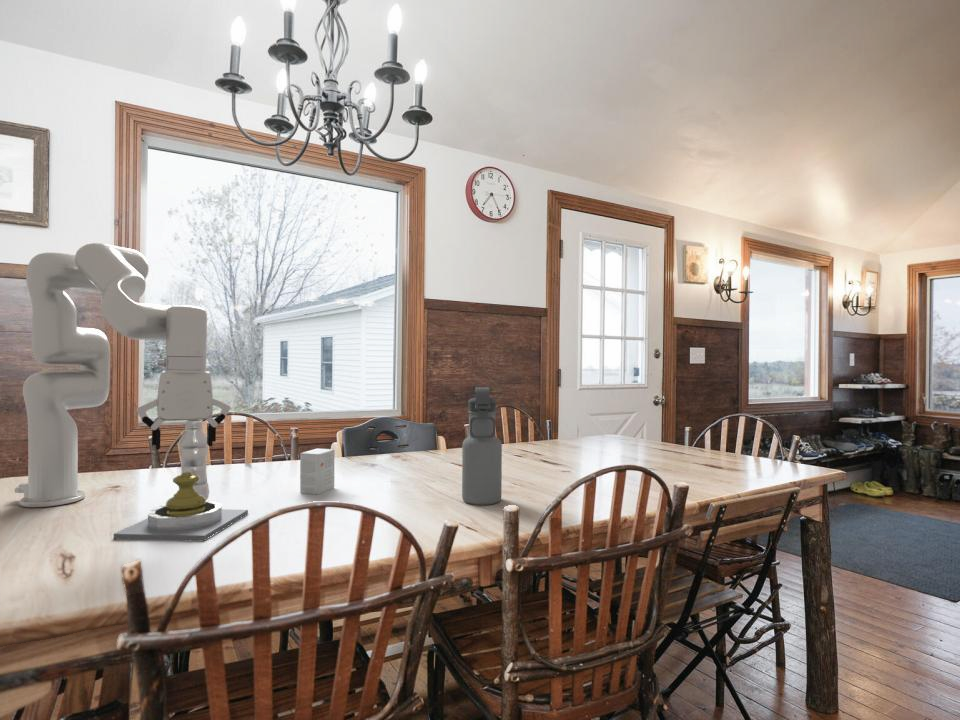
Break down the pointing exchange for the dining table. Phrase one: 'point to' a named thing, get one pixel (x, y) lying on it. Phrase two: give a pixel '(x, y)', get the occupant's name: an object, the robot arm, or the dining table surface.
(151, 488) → the dining table surface
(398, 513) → the dining table surface
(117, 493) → the dining table surface
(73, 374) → the robot arm
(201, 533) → the seat board
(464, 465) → the water bottle
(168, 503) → the olive turned piece
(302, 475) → the small box
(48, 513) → the dining table surface
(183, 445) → the plastic bottle
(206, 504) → the steel ring
